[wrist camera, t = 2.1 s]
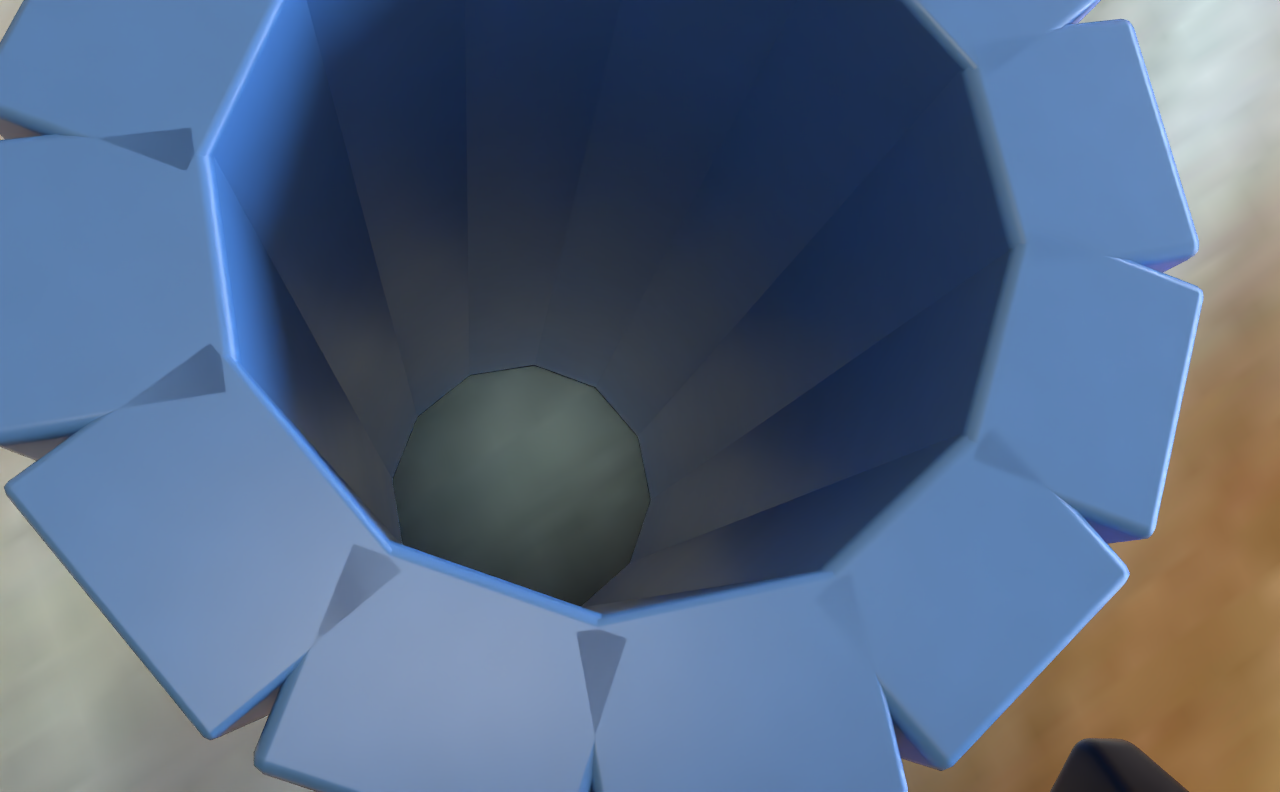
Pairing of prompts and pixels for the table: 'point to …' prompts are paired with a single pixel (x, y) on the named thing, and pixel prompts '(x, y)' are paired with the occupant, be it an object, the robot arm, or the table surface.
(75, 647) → the table surface
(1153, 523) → the blue fluted tube
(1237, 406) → the table surface
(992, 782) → the table surface
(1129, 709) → the table surface
